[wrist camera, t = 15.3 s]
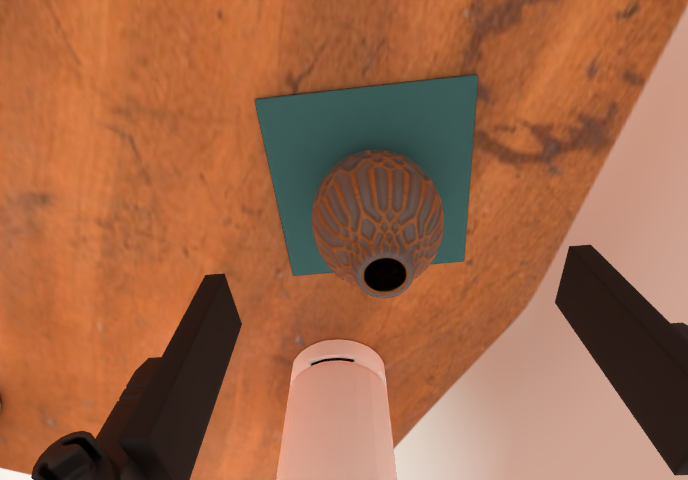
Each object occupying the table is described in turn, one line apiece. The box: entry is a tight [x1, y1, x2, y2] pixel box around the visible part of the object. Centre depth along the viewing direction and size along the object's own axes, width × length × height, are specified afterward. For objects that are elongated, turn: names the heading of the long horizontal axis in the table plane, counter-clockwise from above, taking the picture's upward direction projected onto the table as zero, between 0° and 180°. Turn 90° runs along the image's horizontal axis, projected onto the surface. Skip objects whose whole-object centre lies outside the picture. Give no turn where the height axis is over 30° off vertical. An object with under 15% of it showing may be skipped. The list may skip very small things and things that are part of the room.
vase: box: [311, 149, 444, 298], centre depth 19 cm, size 7×7×9 cm
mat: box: [255, 74, 478, 276], centre depth 23 cm, size 12×12×1 cm
